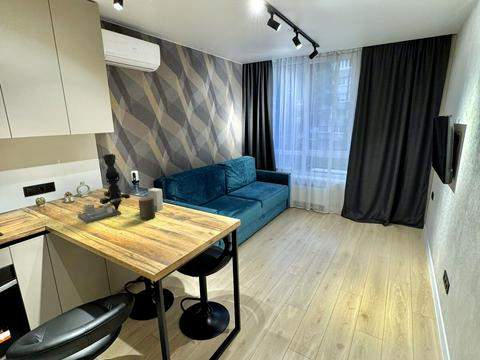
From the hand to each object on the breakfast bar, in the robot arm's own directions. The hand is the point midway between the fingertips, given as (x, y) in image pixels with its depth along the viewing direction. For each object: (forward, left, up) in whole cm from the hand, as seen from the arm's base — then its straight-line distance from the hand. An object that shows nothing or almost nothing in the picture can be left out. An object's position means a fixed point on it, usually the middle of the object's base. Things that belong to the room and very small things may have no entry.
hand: (116, 210), depth 183 cm
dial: (+14, -12, 0) cm, 18 cm away
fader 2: (+5, 0, 0) cm, 5 cm away
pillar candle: (-11, +23, -3) cm, 26 cm away
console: (+10, -6, -3) cm, 11 cm away
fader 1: (+5, -7, -1) cm, 8 cm away
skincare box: (-23, +13, -3) cm, 27 cm away
